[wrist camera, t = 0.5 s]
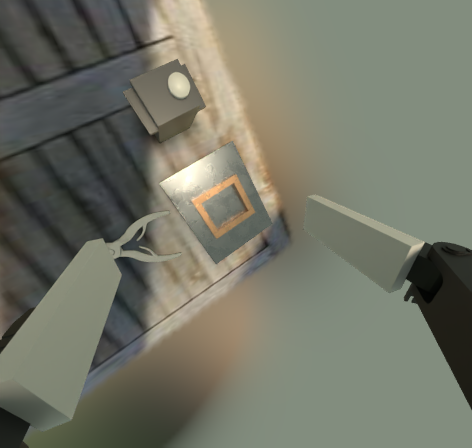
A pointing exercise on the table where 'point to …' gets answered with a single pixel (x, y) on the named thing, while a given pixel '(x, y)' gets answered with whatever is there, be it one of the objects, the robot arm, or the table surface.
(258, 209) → the plate
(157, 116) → the servo
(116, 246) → the pliers
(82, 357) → the robot arm
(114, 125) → the table surface
